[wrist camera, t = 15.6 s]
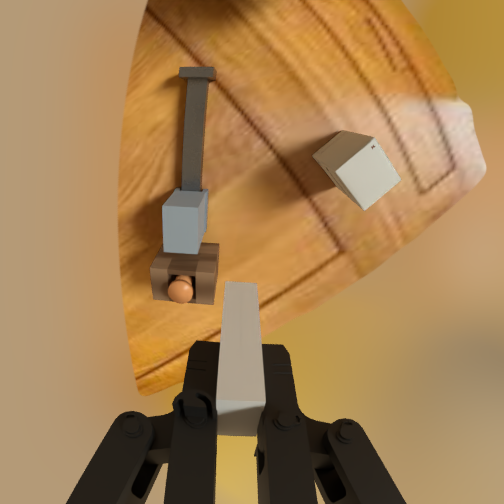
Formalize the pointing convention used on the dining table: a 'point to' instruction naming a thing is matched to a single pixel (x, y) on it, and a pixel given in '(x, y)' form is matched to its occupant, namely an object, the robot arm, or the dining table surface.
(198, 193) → the block
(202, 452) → the robot arm
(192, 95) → the rail
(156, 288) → the end block
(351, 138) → the supplement box
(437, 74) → the dining table surface
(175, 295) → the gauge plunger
